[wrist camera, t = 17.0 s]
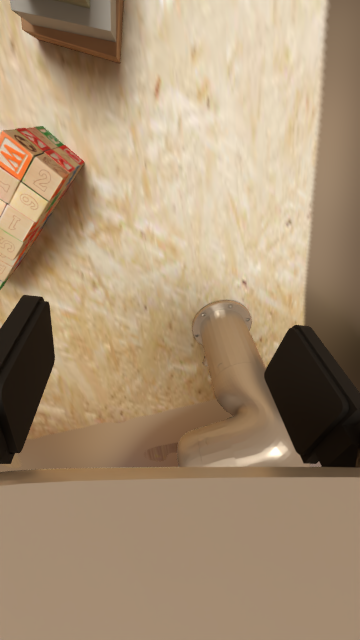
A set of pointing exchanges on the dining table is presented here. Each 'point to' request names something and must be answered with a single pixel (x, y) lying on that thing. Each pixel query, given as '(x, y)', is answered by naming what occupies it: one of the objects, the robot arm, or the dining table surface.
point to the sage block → (77, 2)
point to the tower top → (71, 16)
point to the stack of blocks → (29, 189)
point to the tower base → (82, 38)
